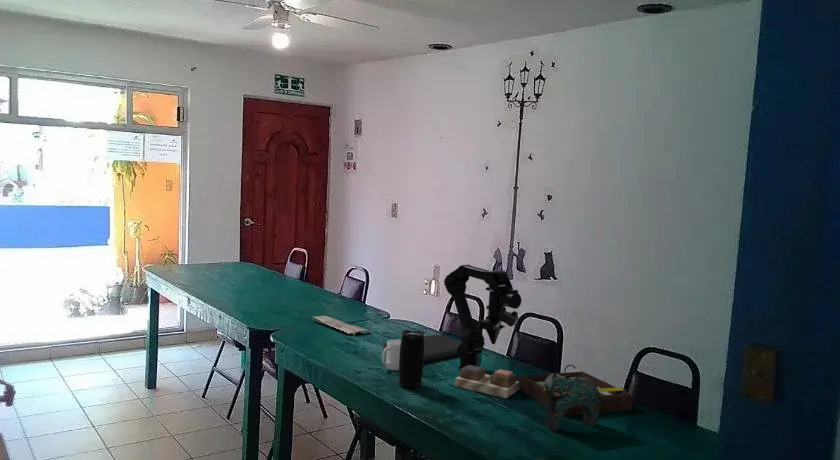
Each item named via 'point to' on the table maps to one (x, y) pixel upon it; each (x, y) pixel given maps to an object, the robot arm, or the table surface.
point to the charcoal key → (473, 368)
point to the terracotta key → (503, 373)
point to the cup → (392, 355)
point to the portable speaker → (411, 359)
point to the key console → (486, 383)
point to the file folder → (438, 348)
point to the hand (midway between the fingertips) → (493, 344)
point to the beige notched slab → (339, 324)
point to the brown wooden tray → (609, 402)
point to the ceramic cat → (571, 399)
